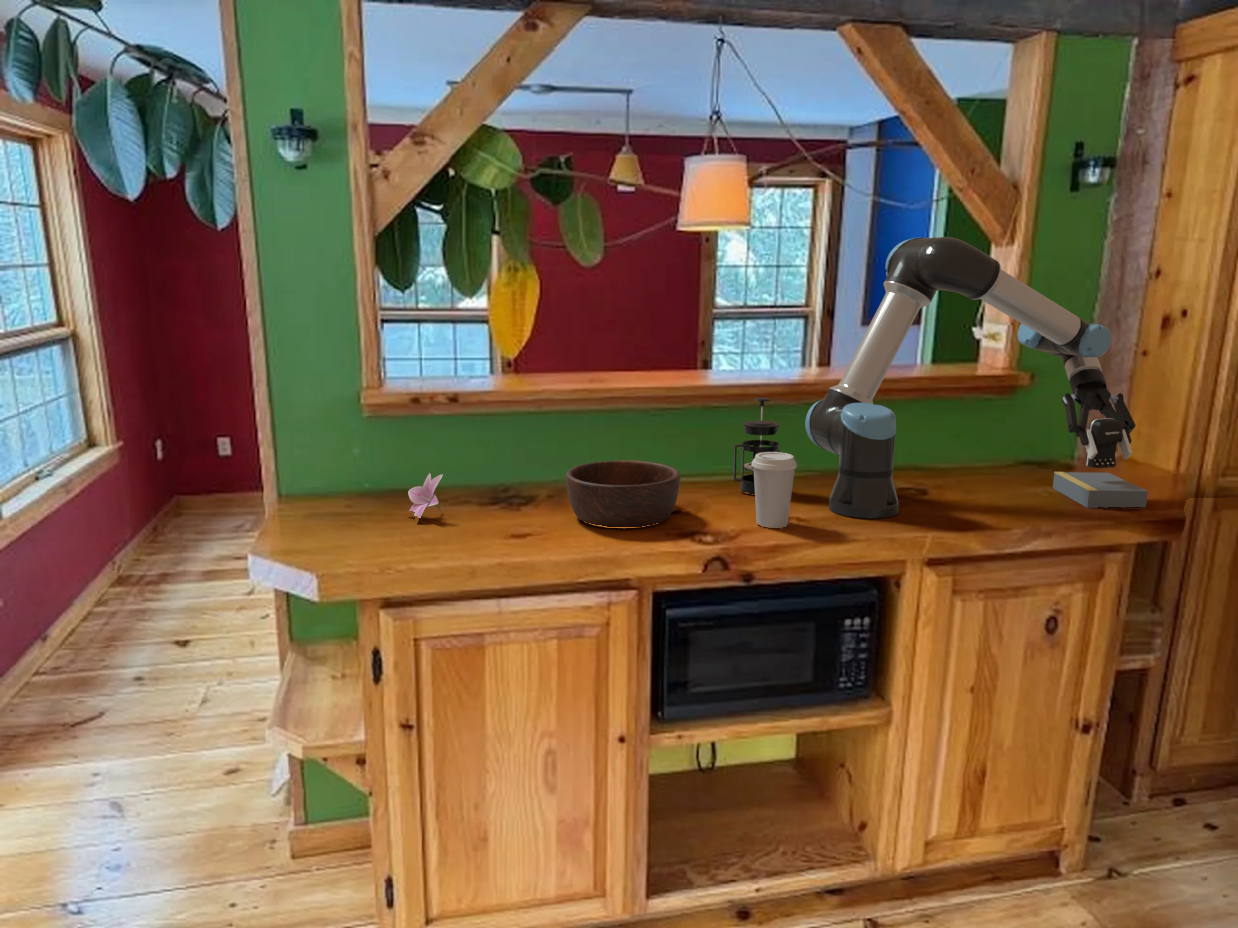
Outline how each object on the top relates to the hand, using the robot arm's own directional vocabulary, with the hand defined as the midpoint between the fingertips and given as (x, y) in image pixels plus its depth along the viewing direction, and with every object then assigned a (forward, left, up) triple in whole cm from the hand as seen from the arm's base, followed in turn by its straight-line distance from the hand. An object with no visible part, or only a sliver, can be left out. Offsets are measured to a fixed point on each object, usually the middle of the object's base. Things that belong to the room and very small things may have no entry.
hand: (1110, 455), depth 206 cm
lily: (-155, -17, -11) cm, 157 cm away
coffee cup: (-80, -21, -11) cm, 83 cm away
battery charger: (0, +3, -4) cm, 5 cm away
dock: (0, +3, -11) cm, 11 cm away
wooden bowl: (-112, -16, -11) cm, 113 cm away
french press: (-80, +7, -11) cm, 81 cm away
